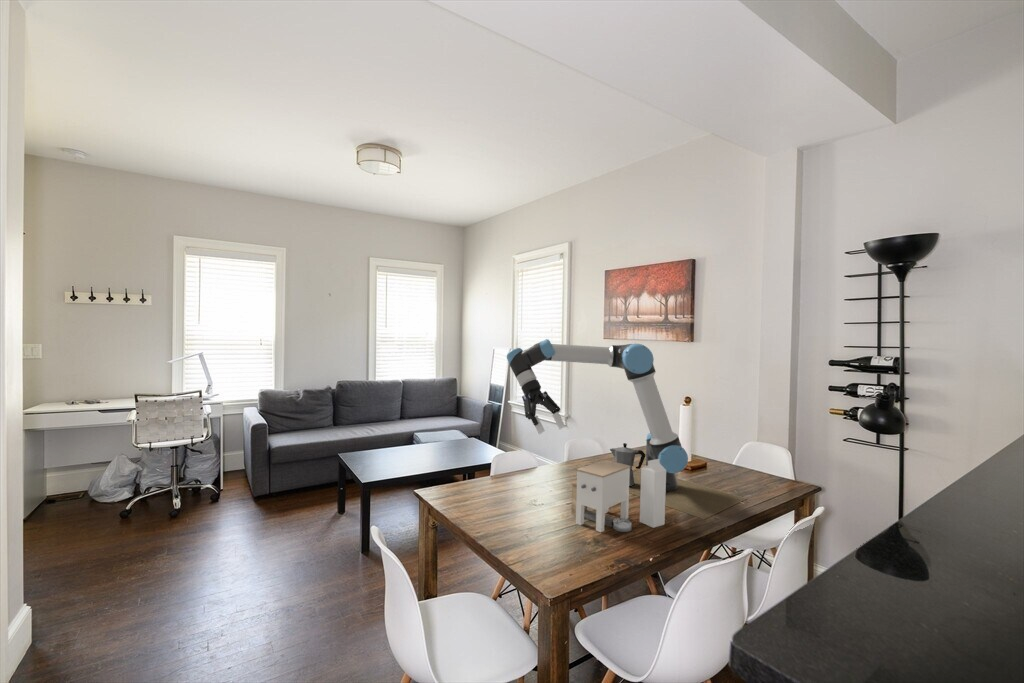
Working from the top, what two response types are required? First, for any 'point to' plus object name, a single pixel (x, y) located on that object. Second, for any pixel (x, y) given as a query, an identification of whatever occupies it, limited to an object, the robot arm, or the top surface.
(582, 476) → the cabinet
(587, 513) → the beige and grey pieces
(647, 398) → the robot arm
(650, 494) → the milk
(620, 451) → the coffeepot
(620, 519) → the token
